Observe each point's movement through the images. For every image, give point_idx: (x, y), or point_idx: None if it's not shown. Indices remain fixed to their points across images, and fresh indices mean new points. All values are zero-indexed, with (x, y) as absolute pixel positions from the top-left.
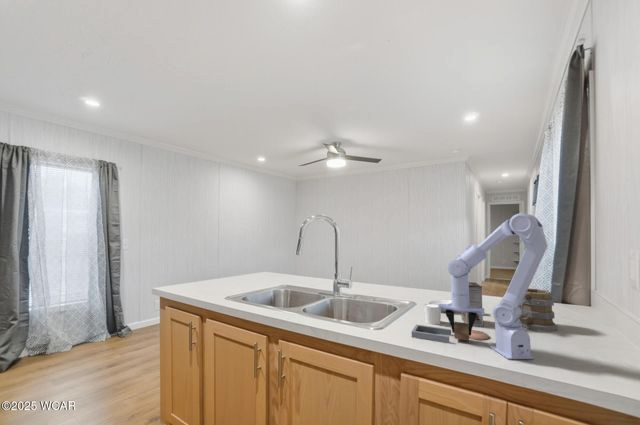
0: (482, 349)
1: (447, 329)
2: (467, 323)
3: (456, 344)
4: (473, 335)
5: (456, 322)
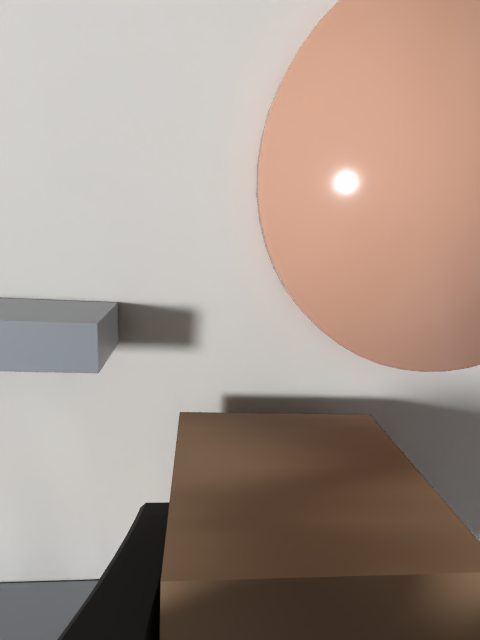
0: None
1: (35, 359)
2: (471, 593)
3: None
4: (430, 274)
5: (205, 628)
